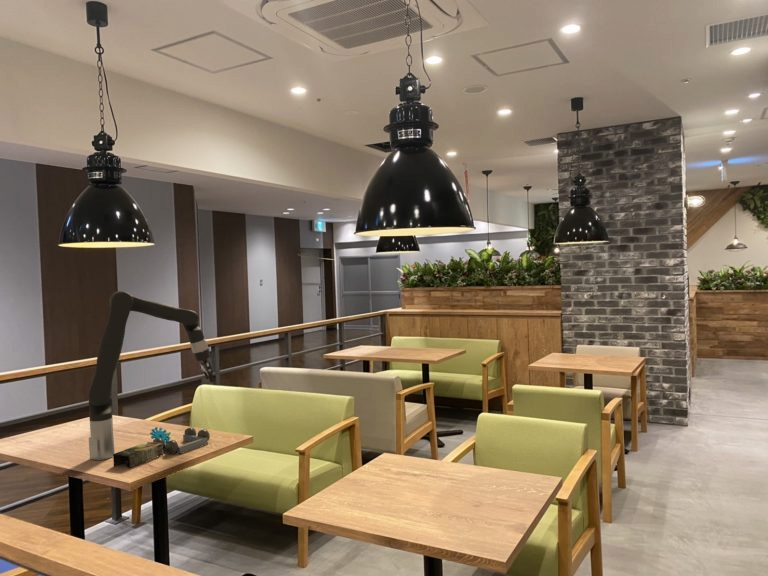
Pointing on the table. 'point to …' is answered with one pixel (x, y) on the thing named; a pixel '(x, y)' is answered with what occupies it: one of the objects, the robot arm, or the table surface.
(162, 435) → the gear
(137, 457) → the dark green hollow block
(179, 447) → the chassis bay
